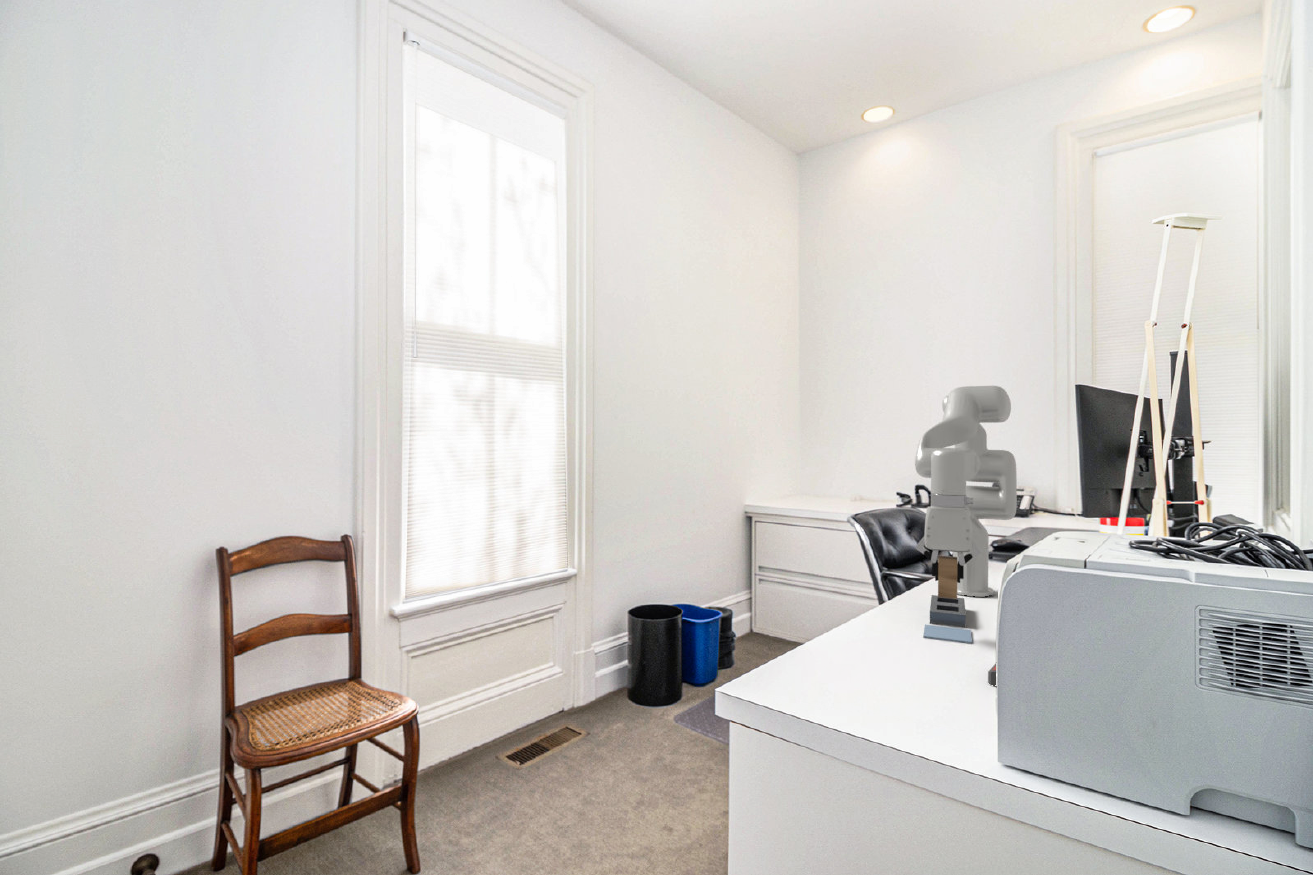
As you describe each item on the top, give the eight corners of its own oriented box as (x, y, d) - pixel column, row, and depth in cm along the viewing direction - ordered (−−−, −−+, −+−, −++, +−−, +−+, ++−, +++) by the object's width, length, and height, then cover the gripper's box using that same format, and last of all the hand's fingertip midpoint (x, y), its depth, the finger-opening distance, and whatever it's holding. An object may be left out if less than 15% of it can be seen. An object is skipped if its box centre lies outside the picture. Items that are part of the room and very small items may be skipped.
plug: (938, 593, 153) (938, 555, 153) (956, 595, 151) (957, 556, 151) (938, 597, 149) (938, 558, 149) (957, 599, 148) (957, 559, 148)
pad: (924, 626, 157) (924, 624, 157) (970, 631, 153) (970, 629, 153) (923, 637, 148) (923, 635, 148) (971, 643, 144) (971, 642, 144)
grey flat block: (931, 606, 176) (931, 595, 176) (964, 609, 173) (964, 598, 173) (929, 623, 160) (929, 611, 160) (965, 627, 156) (965, 615, 156)
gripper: (987, 502, 150) (987, 581, 150) (910, 499, 157) (910, 574, 157) (989, 505, 144) (988, 587, 143) (908, 501, 150) (908, 580, 150)
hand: (947, 579), depth 150 cm, fingers closed on plug, 4 cm apart
